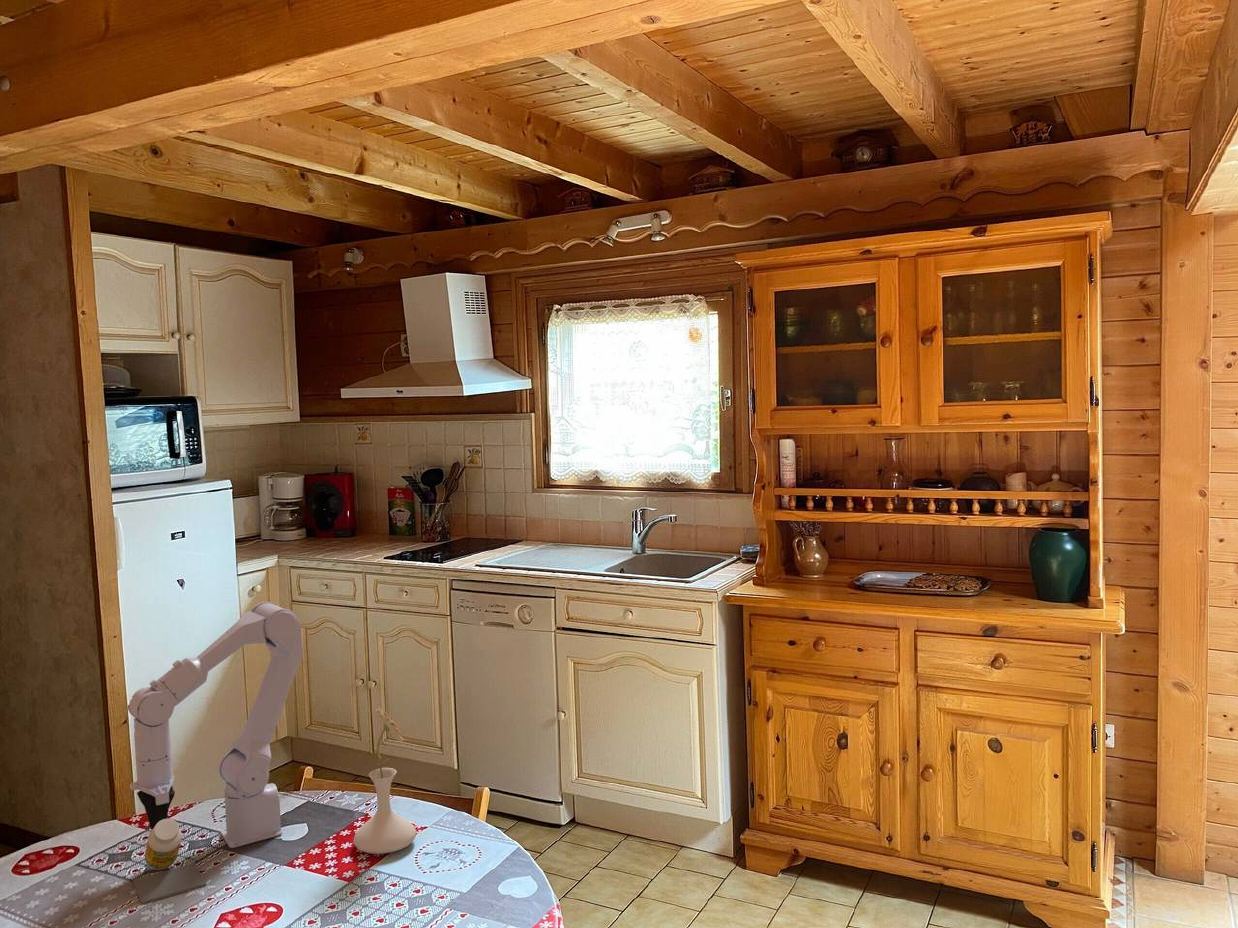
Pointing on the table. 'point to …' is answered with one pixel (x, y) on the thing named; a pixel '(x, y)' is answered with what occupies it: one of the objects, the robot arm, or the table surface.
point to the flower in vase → (384, 807)
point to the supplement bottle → (163, 844)
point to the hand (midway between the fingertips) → (158, 829)
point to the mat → (169, 883)
